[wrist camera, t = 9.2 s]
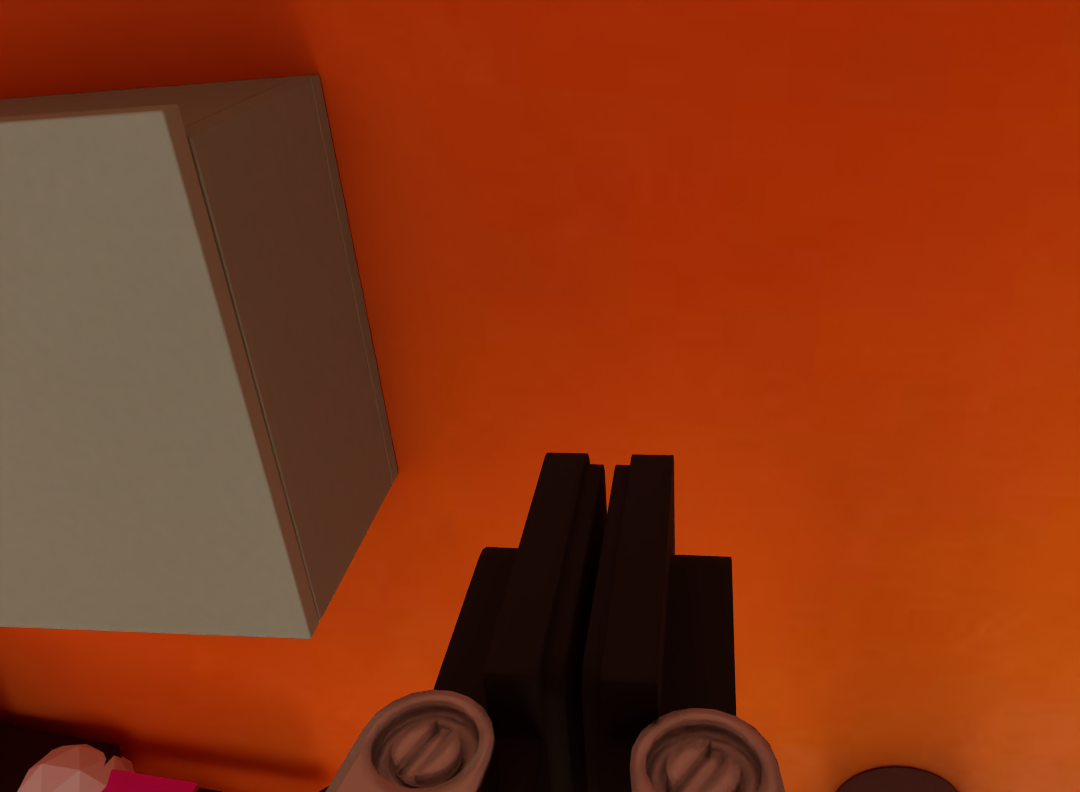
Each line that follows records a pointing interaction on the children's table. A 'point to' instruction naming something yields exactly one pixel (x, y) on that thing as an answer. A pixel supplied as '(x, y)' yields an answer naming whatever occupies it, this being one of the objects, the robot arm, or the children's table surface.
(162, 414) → the lid
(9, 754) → the blocky doll
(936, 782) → the bottle
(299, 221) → the chest
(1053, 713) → the children's table surface
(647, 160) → the children's table surface
